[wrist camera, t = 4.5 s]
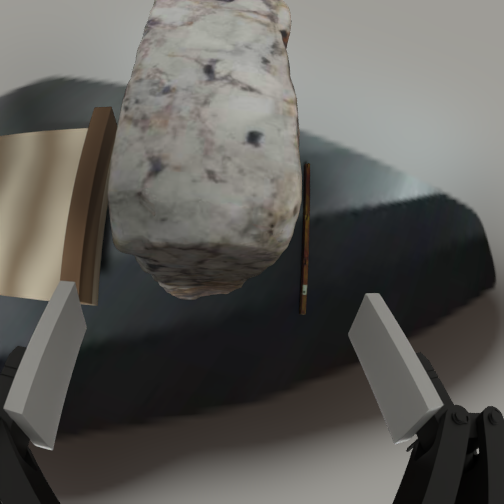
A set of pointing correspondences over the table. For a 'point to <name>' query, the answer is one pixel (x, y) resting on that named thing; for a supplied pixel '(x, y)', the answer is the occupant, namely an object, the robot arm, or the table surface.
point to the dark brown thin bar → (305, 240)
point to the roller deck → (55, 208)
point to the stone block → (207, 146)
